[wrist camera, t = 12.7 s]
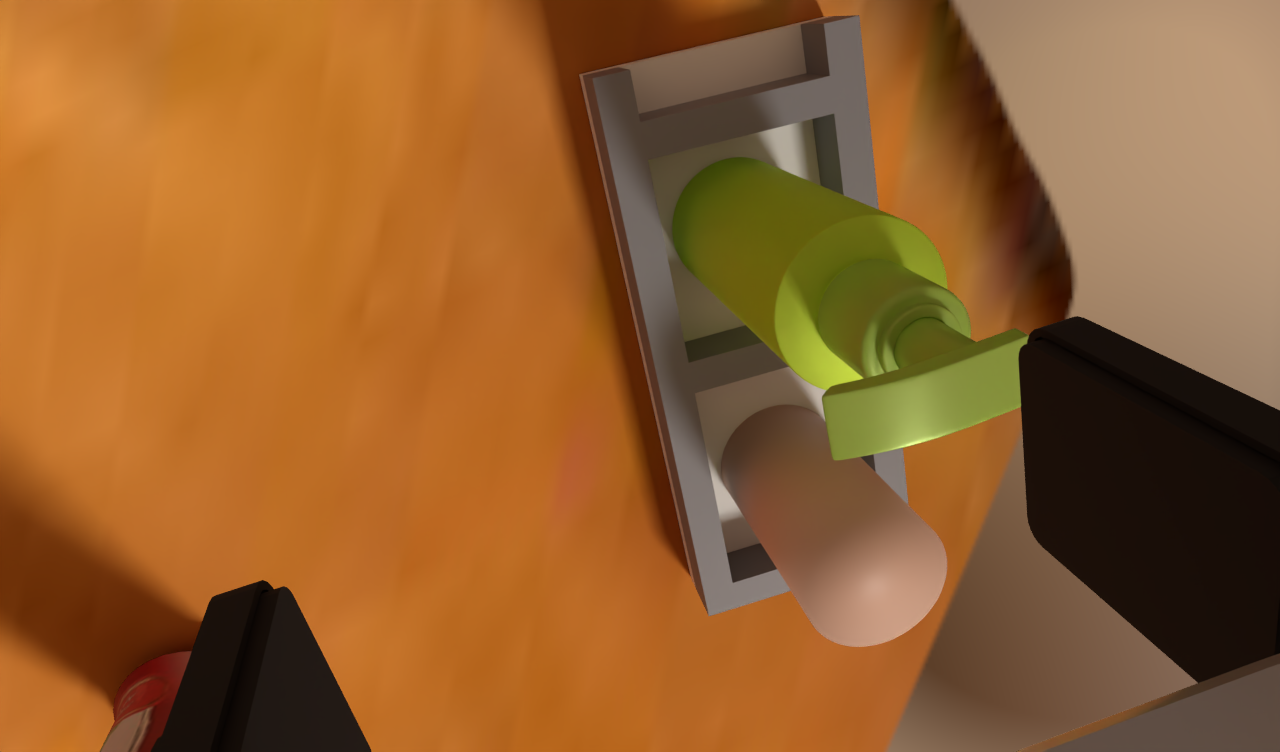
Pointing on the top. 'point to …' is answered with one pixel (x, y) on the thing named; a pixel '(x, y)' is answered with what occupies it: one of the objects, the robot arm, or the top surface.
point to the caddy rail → (737, 358)
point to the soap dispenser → (845, 305)
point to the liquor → (145, 703)
